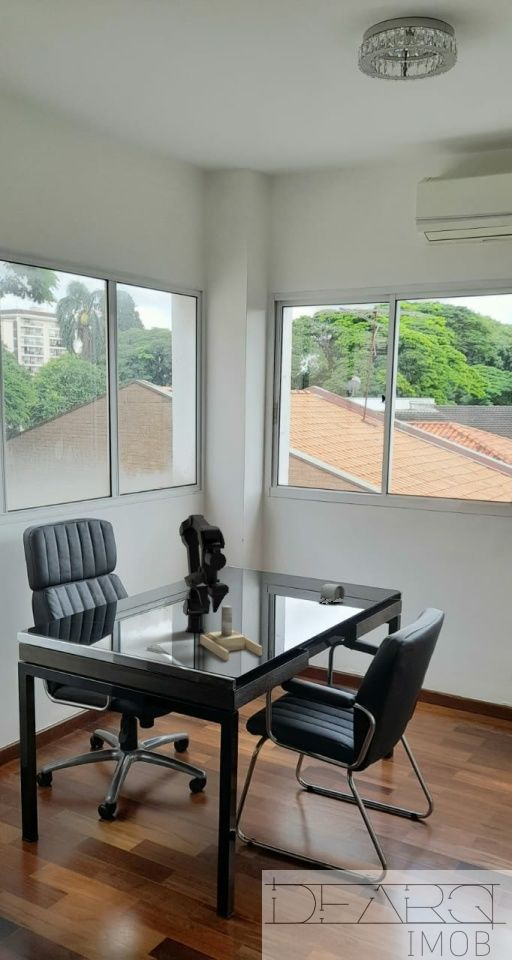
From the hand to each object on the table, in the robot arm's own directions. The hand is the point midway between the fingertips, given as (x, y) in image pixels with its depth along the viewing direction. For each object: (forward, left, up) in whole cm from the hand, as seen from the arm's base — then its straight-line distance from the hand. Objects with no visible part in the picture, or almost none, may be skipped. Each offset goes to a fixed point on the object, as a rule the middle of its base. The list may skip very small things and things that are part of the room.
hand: (208, 609), depth 265 cm
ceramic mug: (-63, +46, -12) cm, 79 cm away
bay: (+8, +8, -12) cm, 17 cm away
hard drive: (+8, -12, -13) cm, 19 cm away
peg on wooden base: (+6, +6, -11) cm, 14 cm away
